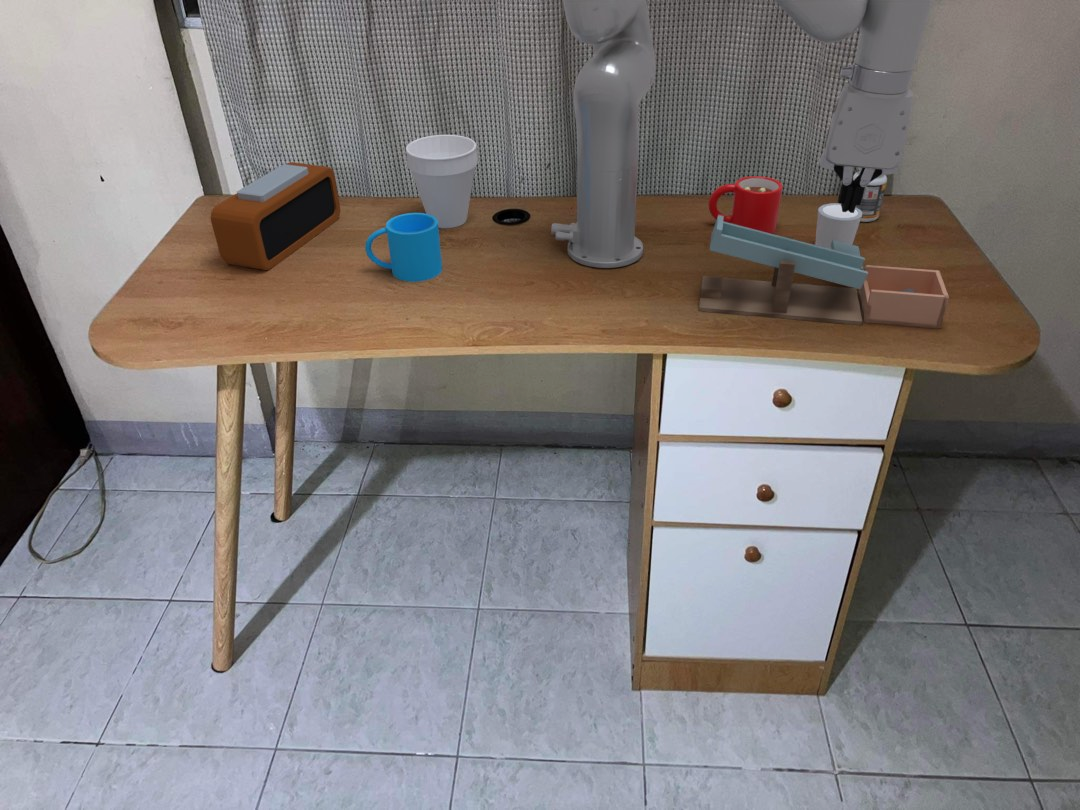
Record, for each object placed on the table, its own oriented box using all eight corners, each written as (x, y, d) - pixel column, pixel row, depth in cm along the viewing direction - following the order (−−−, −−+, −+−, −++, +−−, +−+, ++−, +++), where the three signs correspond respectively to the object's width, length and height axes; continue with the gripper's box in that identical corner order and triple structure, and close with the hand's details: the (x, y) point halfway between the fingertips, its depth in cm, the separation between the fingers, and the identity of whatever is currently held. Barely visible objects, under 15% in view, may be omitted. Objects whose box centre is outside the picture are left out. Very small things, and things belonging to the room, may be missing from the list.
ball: (893, 305, 119) (910, 291, 118) (890, 295, 122) (907, 281, 120) (908, 317, 120) (925, 303, 118) (905, 307, 122) (922, 293, 121)
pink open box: (863, 322, 119) (871, 291, 116) (858, 294, 126) (865, 265, 123) (939, 328, 117) (949, 297, 114) (930, 300, 124) (939, 270, 121)
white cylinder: (855, 261, 134) (864, 220, 130) (812, 258, 136) (819, 218, 132) (851, 243, 140) (860, 203, 136) (809, 240, 141) (816, 201, 137)
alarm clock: (264, 275, 135) (248, 209, 128) (222, 267, 138) (204, 202, 131) (342, 217, 153) (332, 157, 146) (304, 211, 156) (292, 152, 149)
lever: (709, 252, 119) (716, 230, 117) (713, 215, 129) (720, 194, 127) (863, 292, 118) (874, 271, 115) (855, 252, 128) (865, 231, 126)
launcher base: (698, 310, 123) (704, 259, 118) (702, 279, 130) (707, 229, 125) (861, 325, 118) (874, 272, 114) (855, 291, 126) (867, 240, 121)
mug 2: (706, 216, 150) (710, 174, 145) (774, 219, 148) (780, 176, 144) (706, 235, 144) (711, 191, 139) (777, 238, 142) (784, 194, 137)
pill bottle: (882, 222, 146) (895, 167, 140) (850, 223, 146) (861, 168, 140) (872, 209, 151) (885, 156, 145) (841, 210, 151) (852, 156, 145)
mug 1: (443, 258, 139) (439, 212, 134) (441, 281, 132) (436, 233, 127) (372, 260, 138) (364, 214, 134) (365, 283, 132) (357, 236, 127)
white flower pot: (444, 201, 158) (438, 129, 150) (495, 216, 152) (491, 142, 144) (399, 224, 150) (390, 149, 142) (451, 240, 144) (444, 163, 136)
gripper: (824, 82, 108) (795, 214, 120) (944, 91, 106) (904, 225, 117) (820, 67, 114) (794, 193, 125) (935, 75, 112) (897, 203, 123)
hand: (847, 208), depth 121 cm, fingers closed
